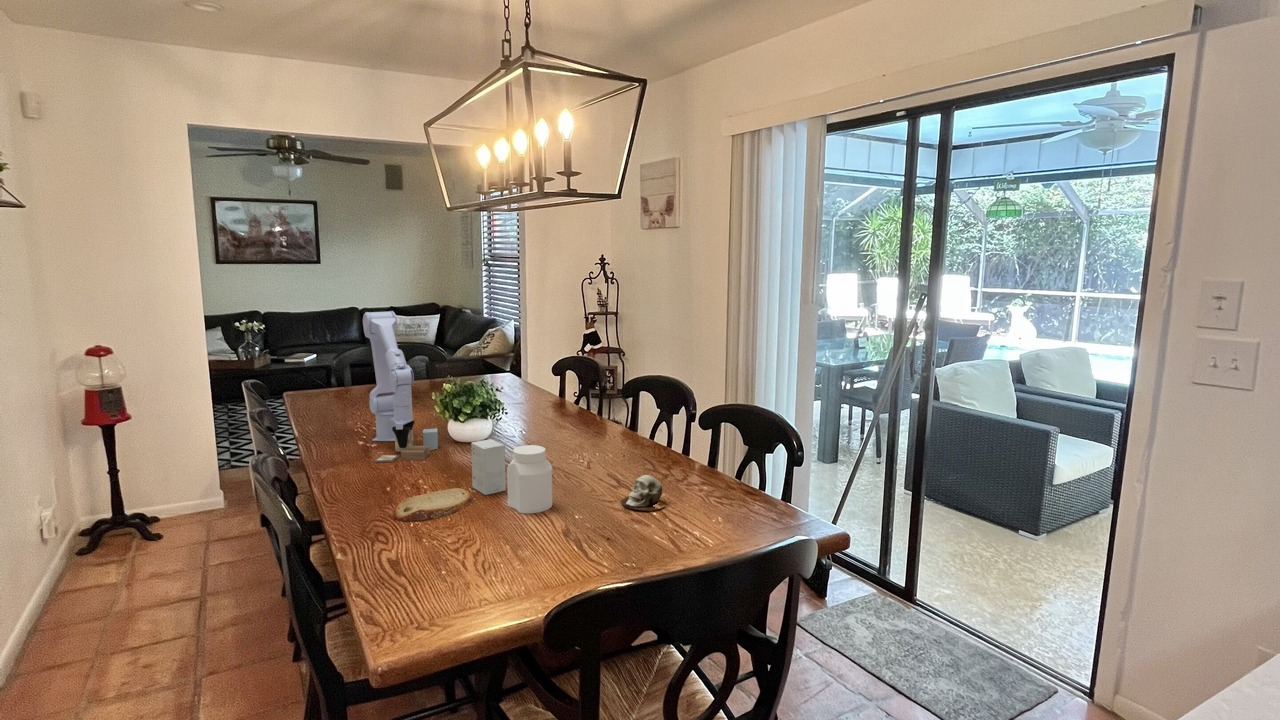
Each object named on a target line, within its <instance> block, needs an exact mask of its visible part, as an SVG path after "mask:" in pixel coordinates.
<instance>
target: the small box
mask: <svg viewBox="0 0 1280 720" xmlns="http://www.w3.org/2000/svg"><path fill="white" fill-rule="evenodd" d="M470 446H471V478H472V479H471V481H472V482H471V483H472V484H471V485H472V488H473V489H474V490H476V491H478V492H480V493H481V494H483V495H485V496H488V495H492V494H497V493H500V492H504V491H506V490H507V486H506V485H507V484H506V483H507V482H506V480H507V479H506V445H504V444H503V443H501V442H498V441H496V440H494V439H492V438H489V439H484V440H477V441H473V442H472V441H471V445H470Z"/></svg>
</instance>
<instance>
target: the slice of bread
mask: <svg viewBox="0 0 1280 720" xmlns="http://www.w3.org/2000/svg"><path fill="white" fill-rule="evenodd" d="M472 500H473V499H472V495H471V493H470V491H468V490H466V489H465V488H460V487H456V488H447V489H446V488H445V489H441V490H435V491H432V492H427V493H423V494H420V495H419V494H418V495H416V496H415V495H414V496H410V497H408V498H407V497H406V498H404V499H403V500H401V501H400V502H399V503H398V504H397V506H396V507H395V508H394V510H393V513H392V514H393V520H394V521H397V522H403V523H409V522H422V521H429V520H435V519H437V518H438V519H439V518H442V517H445V516H448V515H451V514H453V513H455V512H457V511H460V510H462V509H464V508H466V507H467V506H469V505H470V503H471V502H472Z"/></svg>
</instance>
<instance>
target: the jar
mask: <svg viewBox="0 0 1280 720" xmlns="http://www.w3.org/2000/svg"><path fill="white" fill-rule="evenodd" d="M546 449H547V448H545V447H544V446H540V445H536V444H534V445H533V444H529V445H528V444H527V445H520V446H517V447H515V448H514V449H513V450H512V454H513V456H512V460H511V461H510V463H509V464H508V466H507V467H506V473H507V475H506V476H507V477H506V478H507V479H506V480H507V506H508V507H509V508H512V509H514V510H516V511H517V512H518V513H520V514H527V515H530V514H538V513H542V512H545V511H548V510H550V508H552V506H553V466H552V464H551V463H550V461H549V459H547V457H546Z"/></svg>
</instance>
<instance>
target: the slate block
mask: <svg viewBox="0 0 1280 720" xmlns="http://www.w3.org/2000/svg"><path fill="white" fill-rule="evenodd" d="M438 433H439V432H438V428H425V429H423V430H422V440H423V441H422V442H423V445H422V446H430V451H433V450H434V449H437V450H439V443H438V442H439V441H438V439H439V435H438Z"/></svg>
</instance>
